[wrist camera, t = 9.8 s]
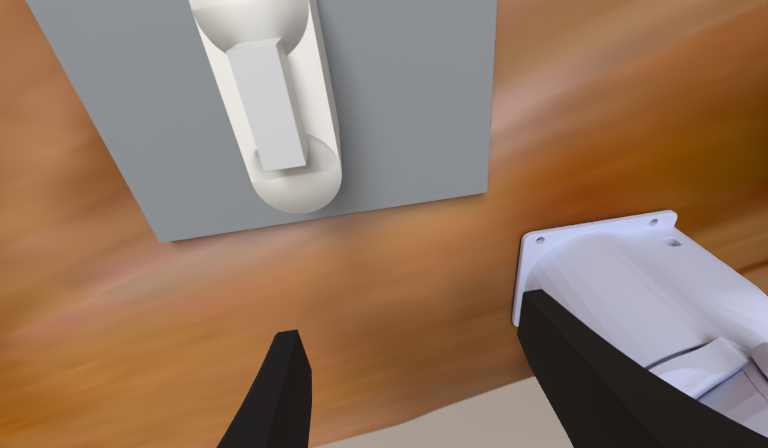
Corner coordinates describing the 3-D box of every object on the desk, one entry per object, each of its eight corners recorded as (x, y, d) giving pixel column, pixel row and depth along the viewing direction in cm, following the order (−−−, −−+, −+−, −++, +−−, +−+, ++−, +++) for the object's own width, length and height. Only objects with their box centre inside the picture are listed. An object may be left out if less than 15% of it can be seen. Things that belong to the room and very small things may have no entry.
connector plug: (305, -61, 13) (287, -89, 8) (344, 152, 17) (350, 228, 12) (219, -50, 13) (141, -70, 8) (280, 162, 17) (258, 243, 12)
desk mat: (499, -228, 12) (510, -241, 11) (481, 185, 20) (487, 192, 20) (-49, -169, 11) (-73, -177, 11) (165, 234, 20) (159, 242, 19)
